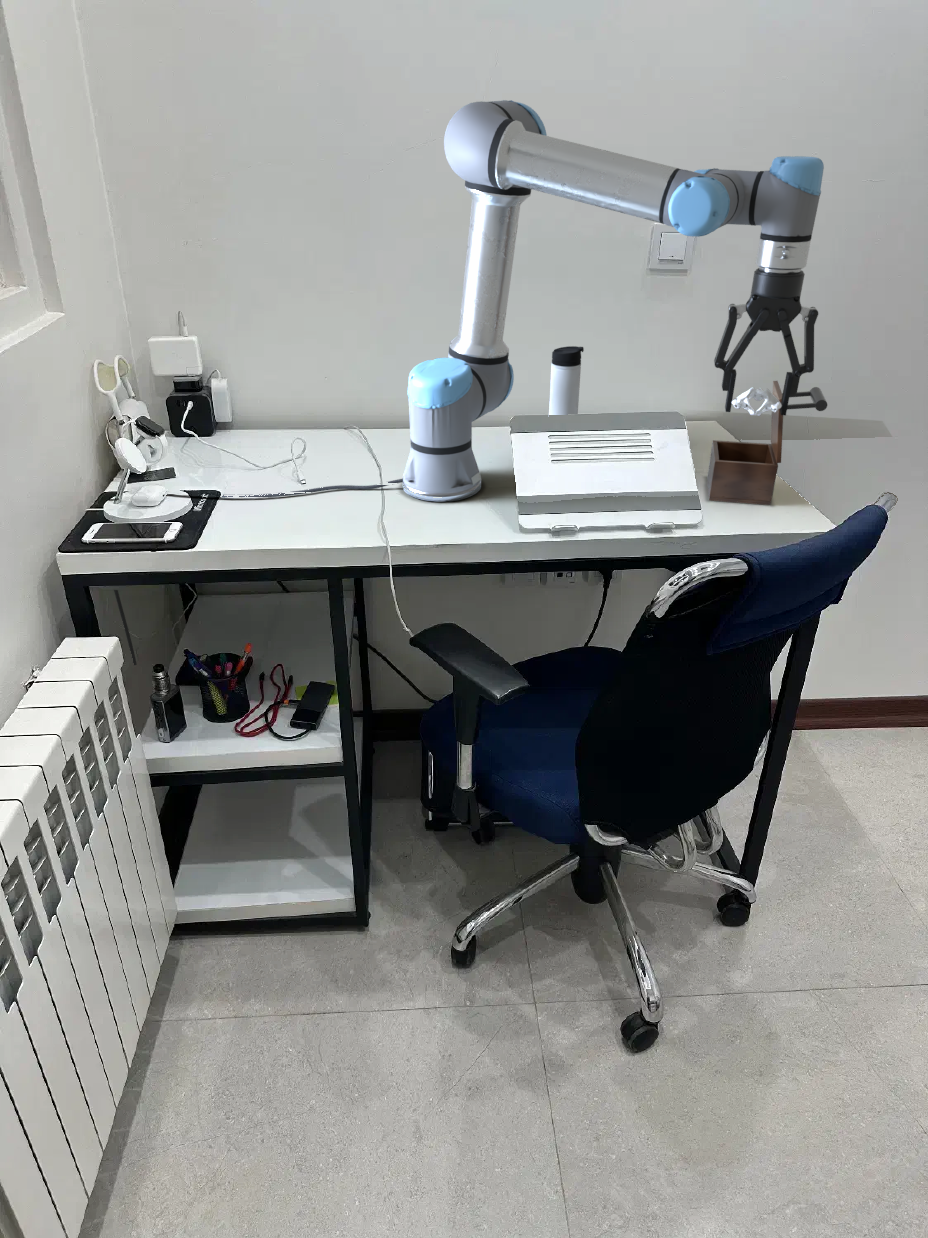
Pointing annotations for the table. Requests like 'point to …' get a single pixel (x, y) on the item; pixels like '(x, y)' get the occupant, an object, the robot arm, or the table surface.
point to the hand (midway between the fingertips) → (754, 410)
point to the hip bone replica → (758, 395)
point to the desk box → (741, 472)
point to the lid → (777, 418)
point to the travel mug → (565, 380)
